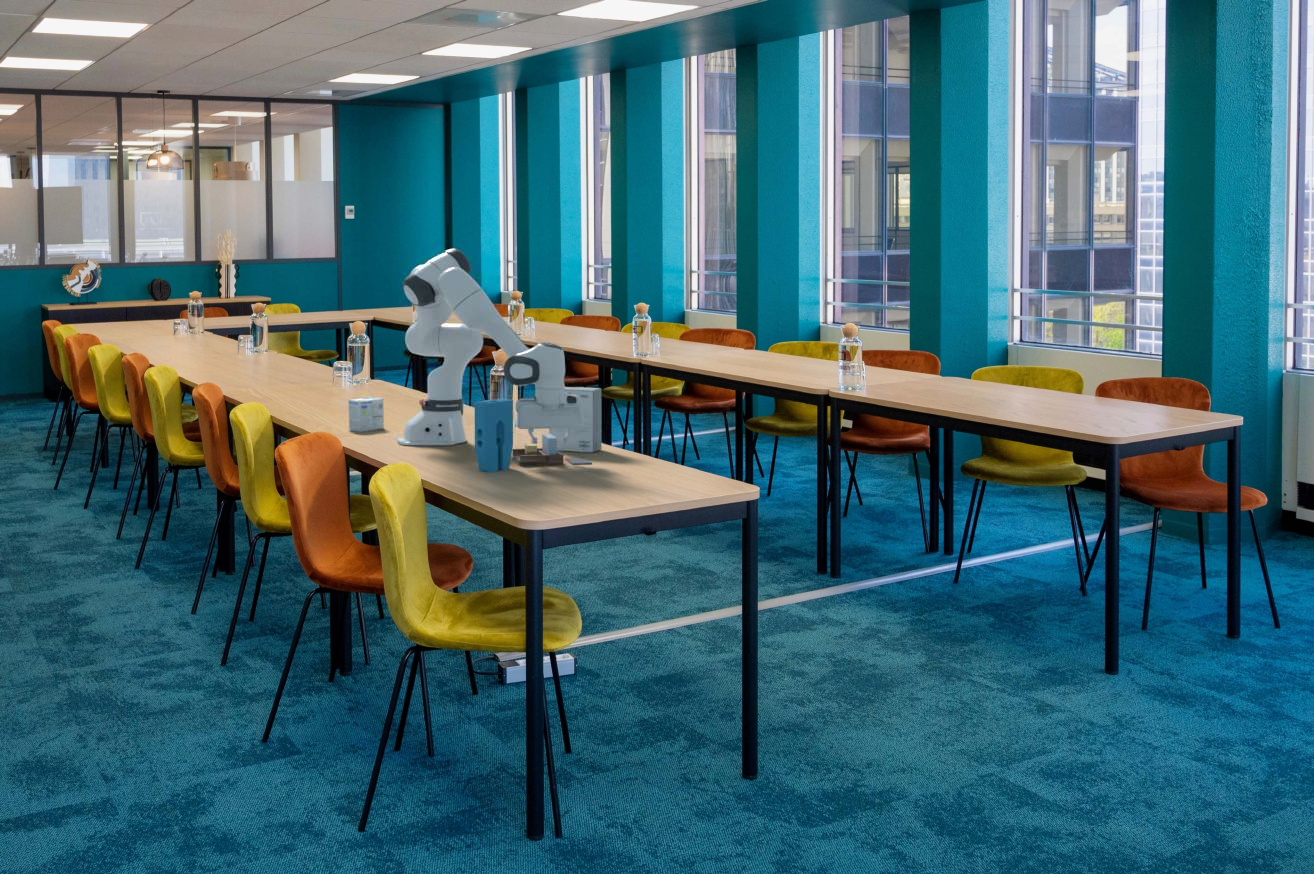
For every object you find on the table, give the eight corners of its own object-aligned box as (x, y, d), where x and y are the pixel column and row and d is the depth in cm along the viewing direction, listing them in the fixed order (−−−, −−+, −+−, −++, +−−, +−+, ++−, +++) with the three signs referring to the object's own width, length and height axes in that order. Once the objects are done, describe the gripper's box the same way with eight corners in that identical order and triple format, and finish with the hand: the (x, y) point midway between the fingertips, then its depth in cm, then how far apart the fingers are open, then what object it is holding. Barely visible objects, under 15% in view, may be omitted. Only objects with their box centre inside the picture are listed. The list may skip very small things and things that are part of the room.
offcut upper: (527, 451, 378) (527, 445, 378) (524, 449, 382) (524, 443, 382) (537, 451, 379) (537, 445, 379) (534, 449, 383) (534, 443, 383)
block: (501, 465, 371) (501, 398, 368) (514, 467, 369) (514, 400, 366) (473, 470, 362) (473, 402, 359) (486, 472, 359) (485, 403, 356)
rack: (512, 458, 383) (512, 448, 383) (554, 457, 387) (554, 447, 387) (520, 466, 371) (520, 456, 371) (563, 464, 375) (563, 454, 374)
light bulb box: (371, 426, 444) (371, 396, 442) (384, 428, 440) (384, 398, 438) (348, 430, 435) (347, 399, 434) (361, 432, 431) (360, 401, 430)
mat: (572, 464, 375) (572, 463, 375) (564, 459, 384) (564, 457, 384) (591, 464, 376) (591, 462, 376) (583, 458, 386) (583, 457, 386)
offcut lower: (527, 457, 378) (527, 451, 378) (524, 455, 382) (524, 449, 382) (537, 457, 379) (537, 451, 379) (534, 455, 383) (534, 449, 383)
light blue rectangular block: (548, 459, 375) (548, 438, 374) (542, 454, 384) (542, 433, 383) (556, 459, 376) (556, 438, 375) (550, 454, 385) (550, 433, 384)
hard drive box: (602, 449, 403) (602, 388, 400) (593, 453, 395) (593, 390, 392) (557, 446, 408) (558, 385, 405) (548, 450, 400) (548, 388, 397)
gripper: (517, 399, 368) (517, 445, 370) (585, 398, 374) (584, 443, 376) (513, 396, 374) (513, 442, 376) (580, 395, 380) (580, 440, 382)
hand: (549, 443), depth 376 cm, fingers open, 8 cm apart
